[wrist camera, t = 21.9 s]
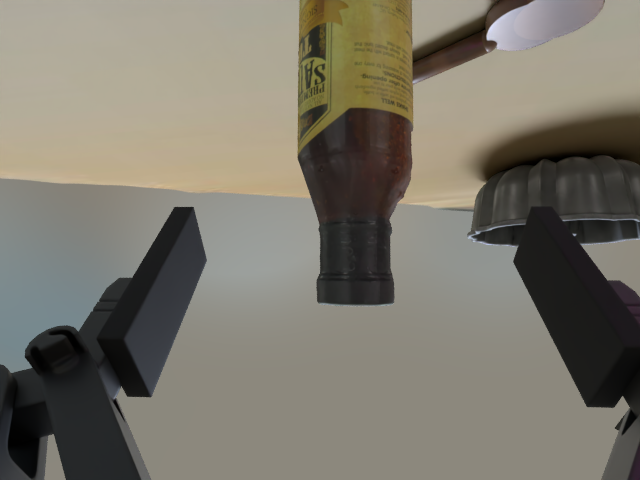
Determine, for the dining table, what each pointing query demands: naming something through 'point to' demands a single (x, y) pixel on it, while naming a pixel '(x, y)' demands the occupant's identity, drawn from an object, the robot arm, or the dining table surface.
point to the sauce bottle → (355, 138)
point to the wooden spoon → (512, 31)
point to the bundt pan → (562, 200)
